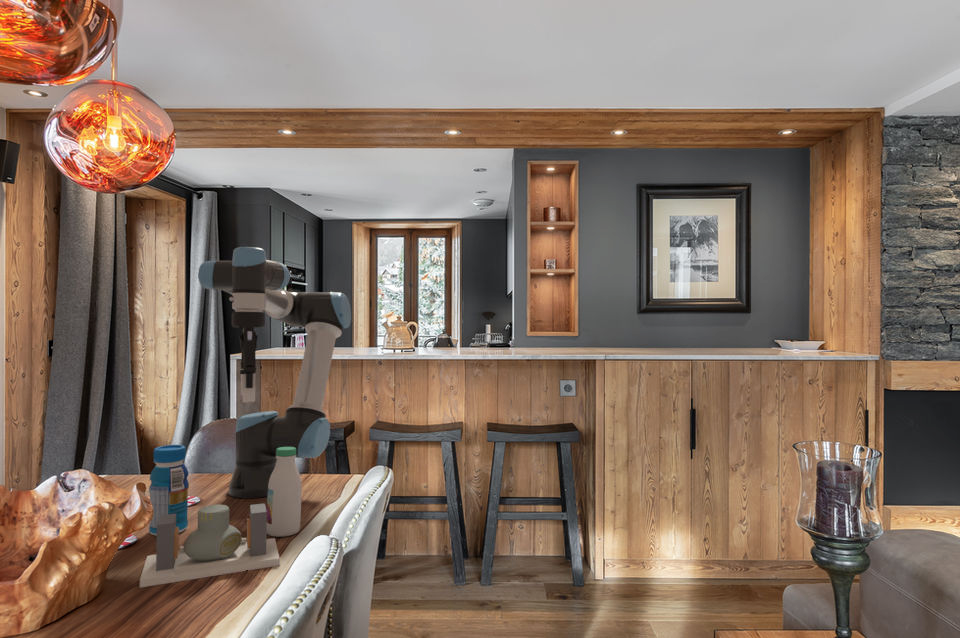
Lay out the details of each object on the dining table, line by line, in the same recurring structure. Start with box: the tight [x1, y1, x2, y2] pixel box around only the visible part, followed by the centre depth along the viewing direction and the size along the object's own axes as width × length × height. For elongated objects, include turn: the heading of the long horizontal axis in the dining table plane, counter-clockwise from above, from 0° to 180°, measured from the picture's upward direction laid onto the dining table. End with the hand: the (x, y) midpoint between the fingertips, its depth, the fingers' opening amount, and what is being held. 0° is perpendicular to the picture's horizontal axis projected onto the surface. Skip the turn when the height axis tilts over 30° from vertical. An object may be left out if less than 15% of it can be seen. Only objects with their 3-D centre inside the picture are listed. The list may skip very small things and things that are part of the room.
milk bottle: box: [266, 447, 302, 538], centre depth 137 cm, size 8×8×20 cm
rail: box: [139, 503, 281, 588], centre depth 118 cm, size 12×25×10 cm, turn 114°
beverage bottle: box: [148, 444, 190, 537], centre depth 137 cm, size 8×8×20 cm
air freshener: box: [183, 504, 243, 562], centre depth 118 cm, size 11×8×10 cm
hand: (247, 398), depth 138 cm, fingers open, 13 cm apart
